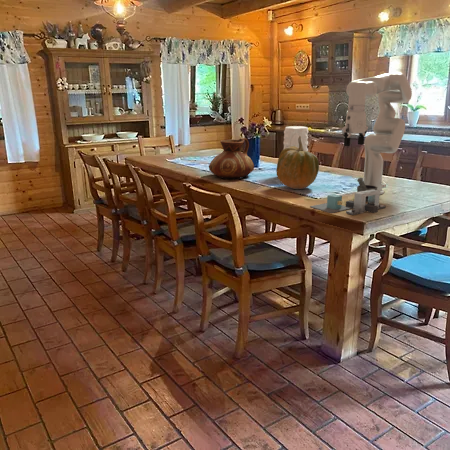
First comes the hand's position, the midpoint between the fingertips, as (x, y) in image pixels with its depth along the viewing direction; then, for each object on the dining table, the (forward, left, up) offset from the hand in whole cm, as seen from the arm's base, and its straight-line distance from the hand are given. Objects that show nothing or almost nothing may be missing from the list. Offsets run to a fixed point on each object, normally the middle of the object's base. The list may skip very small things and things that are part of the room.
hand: (353, 145), depth 215 cm
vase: (-26, -71, -28) cm, 81 cm away
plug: (+16, +5, -28) cm, 33 cm away
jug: (+9, -95, -29) cm, 100 cm away
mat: (+17, +3, -28) cm, 33 cm away
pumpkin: (-1, -41, -28) cm, 50 cm away
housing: (+7, +16, -28) cm, 33 cm away
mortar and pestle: (-9, +2, -28) cm, 30 cm away
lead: (+7, +13, -29) cm, 32 cm away
